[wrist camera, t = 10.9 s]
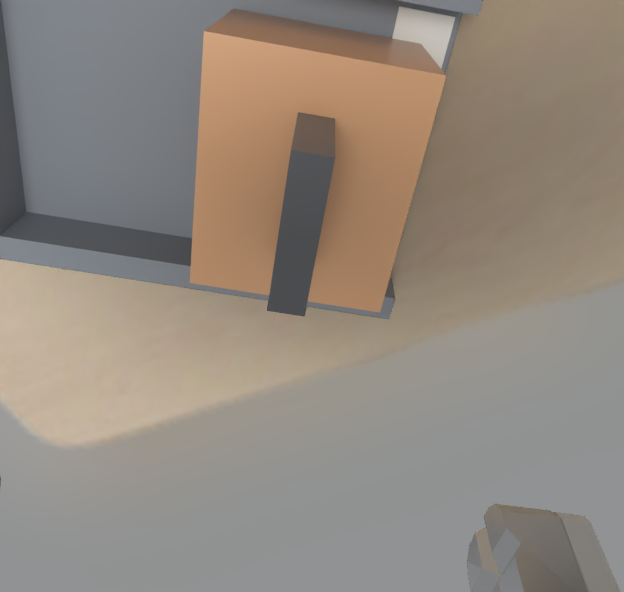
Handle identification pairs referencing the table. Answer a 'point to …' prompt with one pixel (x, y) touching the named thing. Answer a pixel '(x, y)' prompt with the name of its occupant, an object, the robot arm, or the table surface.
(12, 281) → the table surface
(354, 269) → the tan block with handle
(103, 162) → the bay
